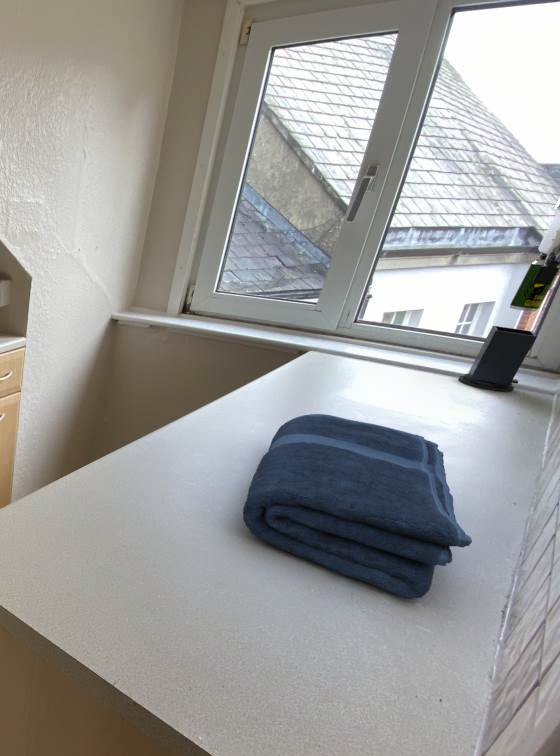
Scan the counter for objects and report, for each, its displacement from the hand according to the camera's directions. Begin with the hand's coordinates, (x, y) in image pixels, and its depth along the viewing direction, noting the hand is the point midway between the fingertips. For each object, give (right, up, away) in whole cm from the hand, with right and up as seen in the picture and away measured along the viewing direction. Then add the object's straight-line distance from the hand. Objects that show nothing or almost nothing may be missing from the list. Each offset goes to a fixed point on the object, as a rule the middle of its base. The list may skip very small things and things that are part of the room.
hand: (537, 281), depth 137 cm
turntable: (-2, -25, +11) cm, 27 cm away
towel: (-89, -51, -50) cm, 115 cm away
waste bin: (-2, -25, +11) cm, 27 cm away
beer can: (0, -6, +3) cm, 7 cm away
